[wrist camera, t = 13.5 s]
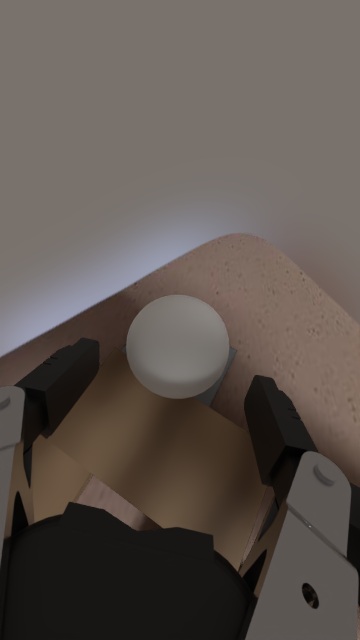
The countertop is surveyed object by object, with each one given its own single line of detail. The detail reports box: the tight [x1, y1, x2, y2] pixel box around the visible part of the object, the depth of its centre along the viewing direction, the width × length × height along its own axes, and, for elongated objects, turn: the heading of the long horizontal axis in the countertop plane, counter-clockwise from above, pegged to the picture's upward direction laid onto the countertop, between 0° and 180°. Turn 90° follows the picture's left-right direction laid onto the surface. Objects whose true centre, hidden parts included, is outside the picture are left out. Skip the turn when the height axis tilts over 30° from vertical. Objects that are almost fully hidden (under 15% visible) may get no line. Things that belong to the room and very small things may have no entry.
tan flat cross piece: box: [33, 347, 267, 573], centre depth 14 cm, size 24×24×2 cm
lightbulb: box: [126, 295, 229, 399], centre depth 14 cm, size 6×6×11 cm
